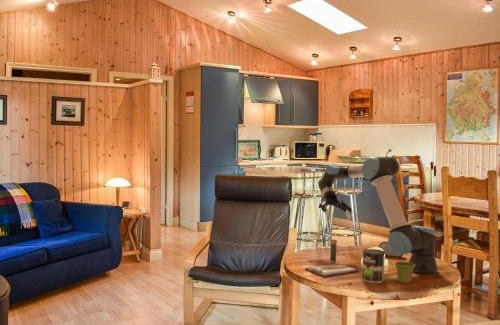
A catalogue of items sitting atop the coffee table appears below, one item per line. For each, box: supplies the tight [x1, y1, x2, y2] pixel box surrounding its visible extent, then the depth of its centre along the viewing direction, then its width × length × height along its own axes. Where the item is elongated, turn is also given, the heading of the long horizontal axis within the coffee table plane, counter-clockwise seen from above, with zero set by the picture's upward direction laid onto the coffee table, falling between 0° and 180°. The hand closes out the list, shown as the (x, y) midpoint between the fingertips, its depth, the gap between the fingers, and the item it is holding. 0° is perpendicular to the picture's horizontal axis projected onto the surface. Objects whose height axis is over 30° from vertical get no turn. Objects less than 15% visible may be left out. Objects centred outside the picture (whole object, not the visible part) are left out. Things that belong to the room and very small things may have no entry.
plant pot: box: [394, 261, 415, 284], centre depth 239 cm, size 9×9×9 cm
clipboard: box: [304, 262, 359, 278], centre depth 256 cm, size 16×22×2 cm
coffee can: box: [361, 248, 385, 284], centre depth 241 cm, size 10×10×14 cm
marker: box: [329, 239, 338, 264], centre depth 271 cm, size 3×3×13 cm
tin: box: [378, 240, 404, 258], centre depth 290 cm, size 15×3×8 cm, turn 69°
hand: (338, 216), depth 280 cm, fingers open, 13 cm apart
